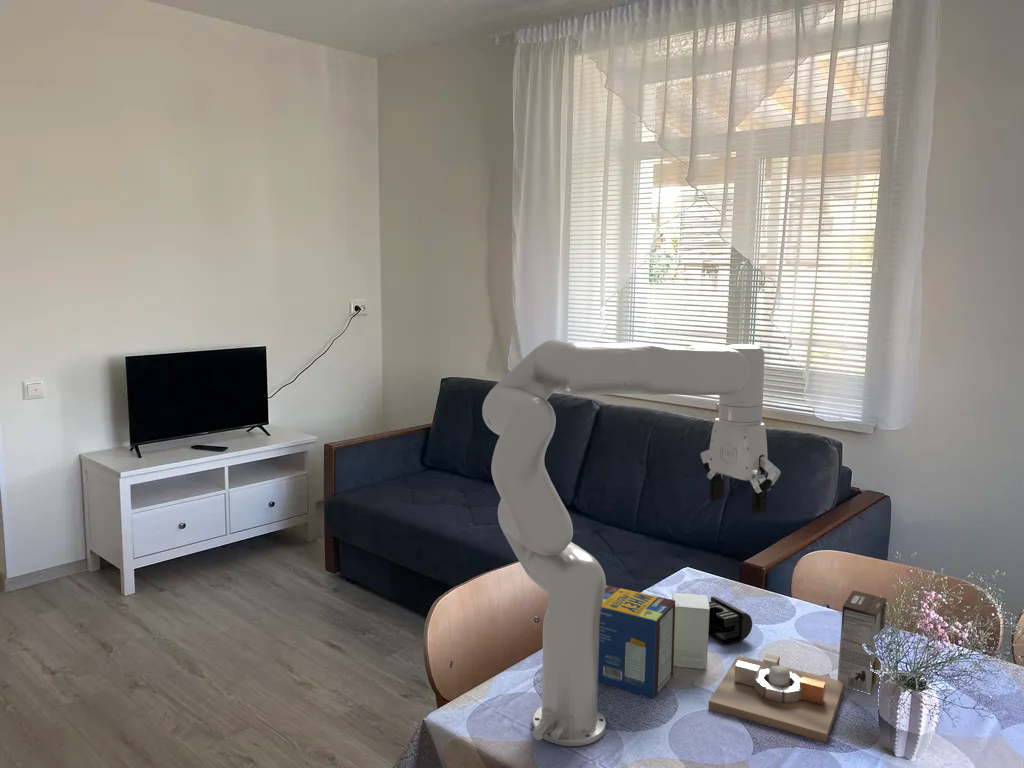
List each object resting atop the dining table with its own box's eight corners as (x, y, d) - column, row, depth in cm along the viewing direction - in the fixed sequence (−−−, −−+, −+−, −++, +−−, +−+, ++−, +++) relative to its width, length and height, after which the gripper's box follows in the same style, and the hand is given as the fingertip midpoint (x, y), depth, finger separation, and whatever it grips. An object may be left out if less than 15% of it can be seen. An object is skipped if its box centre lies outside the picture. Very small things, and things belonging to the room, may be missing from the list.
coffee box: (847, 666, 159) (852, 589, 157) (881, 676, 155) (888, 597, 153) (835, 685, 152) (841, 604, 149) (871, 696, 148) (878, 613, 146)
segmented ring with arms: (729, 688, 147) (730, 672, 146) (741, 669, 154) (742, 653, 153) (819, 712, 139) (820, 695, 138) (827, 691, 146) (828, 675, 146)
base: (826, 742, 133) (828, 711, 132) (708, 708, 143) (709, 679, 142) (844, 689, 150) (846, 661, 149) (737, 662, 160) (739, 636, 159)
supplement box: (707, 670, 157) (710, 609, 155) (669, 666, 158) (671, 606, 157) (706, 652, 164) (708, 594, 162) (669, 649, 166) (671, 591, 164)
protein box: (601, 655, 162) (603, 583, 160) (673, 676, 155) (677, 600, 152) (578, 677, 154) (580, 601, 151) (654, 700, 146) (657, 620, 144)
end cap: (752, 641, 170) (753, 611, 169) (726, 647, 167) (727, 617, 166) (720, 622, 179) (721, 593, 178) (695, 628, 175) (696, 599, 174)
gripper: (689, 408, 148) (687, 498, 150) (766, 423, 133) (762, 522, 136) (717, 404, 152) (714, 491, 154) (794, 418, 138) (790, 514, 140)
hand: (737, 505), depth 145 cm, fingers open, 9 cm apart
